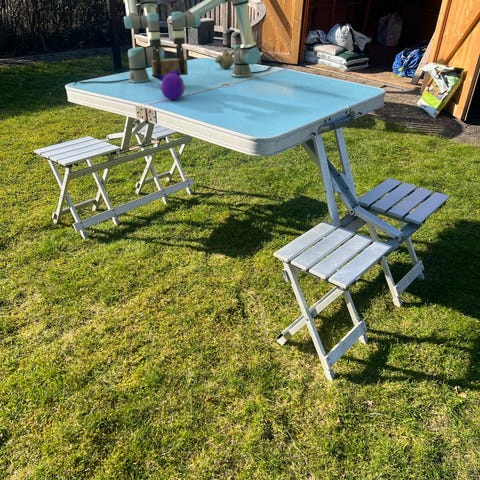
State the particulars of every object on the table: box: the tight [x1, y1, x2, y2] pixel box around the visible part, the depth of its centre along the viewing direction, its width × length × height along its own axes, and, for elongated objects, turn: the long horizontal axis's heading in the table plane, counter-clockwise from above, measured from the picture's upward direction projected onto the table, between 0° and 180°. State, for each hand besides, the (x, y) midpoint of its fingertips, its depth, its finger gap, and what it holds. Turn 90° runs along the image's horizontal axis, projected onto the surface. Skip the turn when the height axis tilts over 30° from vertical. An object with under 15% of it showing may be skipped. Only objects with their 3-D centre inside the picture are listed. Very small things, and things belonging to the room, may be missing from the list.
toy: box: [151, 70, 186, 101], centre depth 286 cm, size 16×18×27 cm
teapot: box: [214, 49, 234, 70], centre depth 375 cm, size 21×12×15 cm, turn 120°
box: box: [151, 57, 189, 76], centre depth 309 cm, size 23×8×10 cm, turn 107°
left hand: (158, 74), depth 309 cm, fingers closed on box, 8 cm apart
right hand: (181, 72), depth 313 cm, fingers closed on box, 8 cm apart
